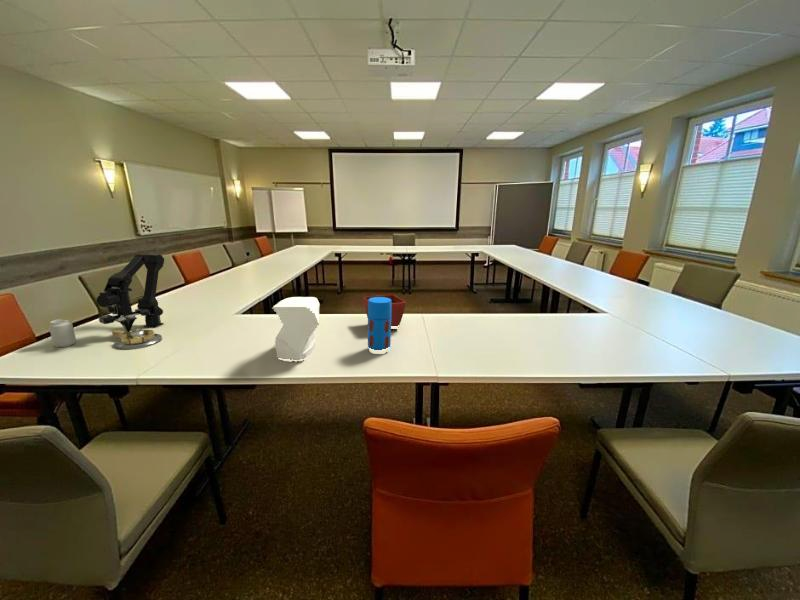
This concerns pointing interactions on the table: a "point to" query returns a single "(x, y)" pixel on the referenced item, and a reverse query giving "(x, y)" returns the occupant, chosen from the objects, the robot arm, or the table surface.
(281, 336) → the white irregular block
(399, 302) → the plant pot
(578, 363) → the table surface
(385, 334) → the thermos
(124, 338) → the wooden gear crank
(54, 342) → the can
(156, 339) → the cap plate
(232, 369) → the table surface
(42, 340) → the table surface
